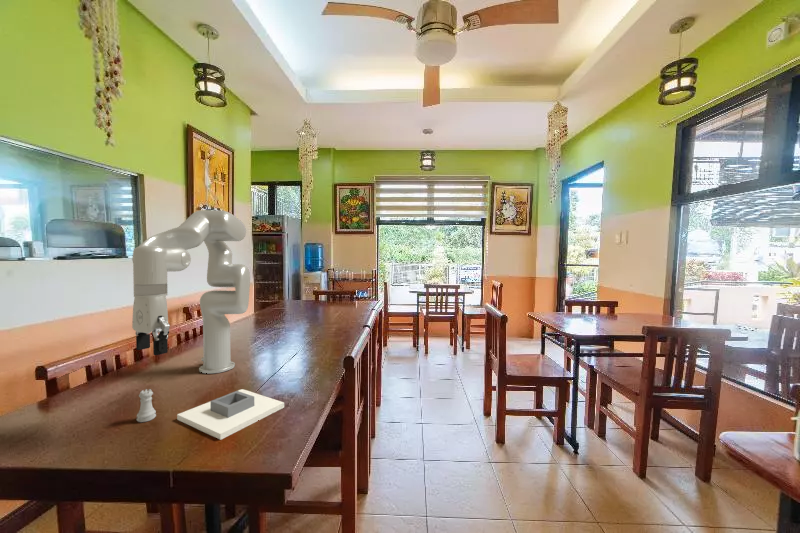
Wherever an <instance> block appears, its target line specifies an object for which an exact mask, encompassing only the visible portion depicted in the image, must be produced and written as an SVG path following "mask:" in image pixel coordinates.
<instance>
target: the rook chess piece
mask: <svg viewBox="0 0 800 533" xmlns="http://www.w3.org/2000/svg"><path fill="white" fill-rule="evenodd" d="M139 392H140V393H139V394H138V397H139V398H140V400H139V402H140V408H139V410H138V412H137V414H136V421H137V423H147V422H150V421H152V420H154V419H155V418H156V417H157V413H156V412H157V411H156V409H155V408H154V407H153V402H152V400H153V397H152V395H154V392H153V391H152V389H151V388H148V389H147V388H145V389H143V390H140V391H139Z"/></svg>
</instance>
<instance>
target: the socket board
mask: <svg viewBox="0 0 800 533" xmlns="http://www.w3.org/2000/svg"><path fill="white" fill-rule="evenodd" d="M283 408H285V402H284V401H281V400H277V399H274V398H271V397H268V396H265V395H263V394H262V395H261V394H259V393H256V392H253V391H250V390H247V389H243V388H242V389H238V390H236V391H233V392H230V393H228V394H225V395H223V396H220V397H217V398H215V399H212V400H210V401H207V402H206V403H203V404H200V405H198V406H195V407H192V408H190V409H187V410H185V411H182V412H180V413H176V414H177V415H176V417H177V418H176V419H177V421H179V422H180V423H181V422H182V423H184V424H185V425H187V426H190V427H192V428H194V429H196V430H198V431H200V432H203V433H205V434H207V435H209V436H211V437H213V438H215V439H216V438H217V439H218V440H221V441H222V440H223V439H225V438H227V437H229V436H231V435H233V434H235V433H237V432H239V431H241V430H243V429H245V428H247V427H248V426H251V425H253V424H255V423H256V422H259V421H261V420H263V419H264V418H266V417H268V416H270V415H273V414H274V413H276V412H278V411H280V410H282V409H283ZM258 420H259V421H258Z"/></svg>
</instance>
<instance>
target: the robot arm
mask: <svg viewBox="0 0 800 533" xmlns="http://www.w3.org/2000/svg"><path fill="white" fill-rule="evenodd" d="M246 233H247V230H246V226H245V224H244V222H243V221H242V220H241V219H239V218H238V217H237V216H235V215H234V214H232V213H231V212H229V211H225V210H213V209H212V210H211V209H210V210H209V209H208V210H206V209H205V210H204V209H201V210H197V211H195V212H193V213H192V214H191V215H189V217H187V219H186V220H184V221H183V222H182V223H181V224H179V226H177V227H174V228H170V229H167V230H166V231H163V232H160V233H157V234H155V235H152V236H150V237H148V238H147V239H144V241H143V242H142V243H140V244H139V245H138V246H137V247H135V248H133V252H132V265H133V266H132V267H133V269H132V272H133V273H132V274H133V276H132V277H133V282H132V283H133V298H134V299H133V304H132V305H133V307H132V323H131V325H132V326H131V327H132V329H133V330H134V331H135V344H136V345H135V347H136V348H135V349H136V350H137V351H142V350H145V349H151V333H152V336H153V338H154V340H152V341H153V342H152V343H153V351H152V352H153V356H160V355H164V354H167V353H168V352H169V351H168V349H169V348H168V347H169V346H168V345H169V344H168V342H169V341H168V340H169V334H170V327H171V325H170V323H169V313H168V312H169V311H168V303H167V297H166V296H168V295H169V294H168V272H181V271H184V270H186V269H187V268H188V267H189V266H190V264H191V261H192V258H191V254H190V252H189V251H188V250H192V249H195V248H198V247H199V246H201V245H202V243H203V242H204V244H205V246H206V249H207V252H208V259H207V270H206V282H207V285H208V286H211V288H234V290H208V291H206V292H204V293H203V294H201V296H200V298H199V306H200V311H201V316H202V331H203V332H202V333H203V334H202V335H203V336H202V337H203V340H202V341H203V342H202V343H203V345H202V347H203V356H202V357H201V358H200V360H201V362H203V365H201V366H200V367H199V368H198V371H199V373H201V372H202V373H201V374H206V373H207V374H209V375H210V374H220V373H223V372H227V371H230V370H232V369H233V368H235V365H236V363H235V362H234V361H232V360H231V323H230V321H229V319H228V317H227V316H226V315H242V314H245V313H246V312H247V311H248V309H249V308H248V307H249V304H250V303H249V302H250V290H251V289H250V287H251V272H250V268H249V267H248V266H247V265H246V264H240V263H234V264H233V262H232V261H233V252H232V249H231V248H230V247H229V245H228V244H226V243H225V242H240V241H243V240H244V239H245V237H246Z"/></svg>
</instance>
